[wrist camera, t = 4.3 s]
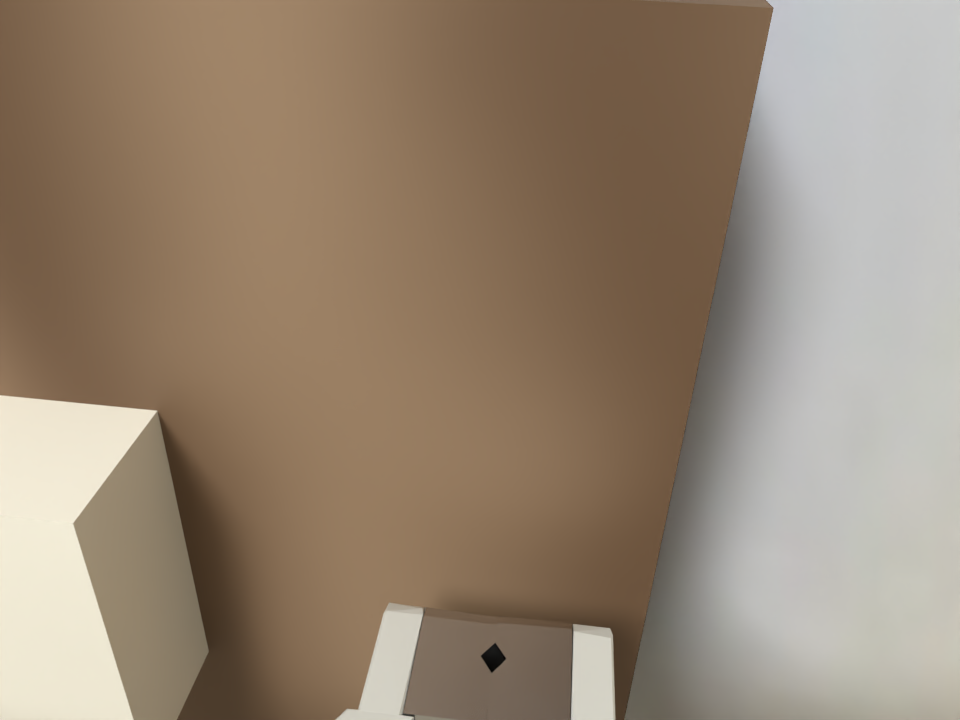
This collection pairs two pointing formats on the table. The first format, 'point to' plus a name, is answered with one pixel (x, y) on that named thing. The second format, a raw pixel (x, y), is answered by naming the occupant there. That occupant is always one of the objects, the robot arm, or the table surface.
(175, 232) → the walnut block
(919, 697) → the table surface
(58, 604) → the tile
